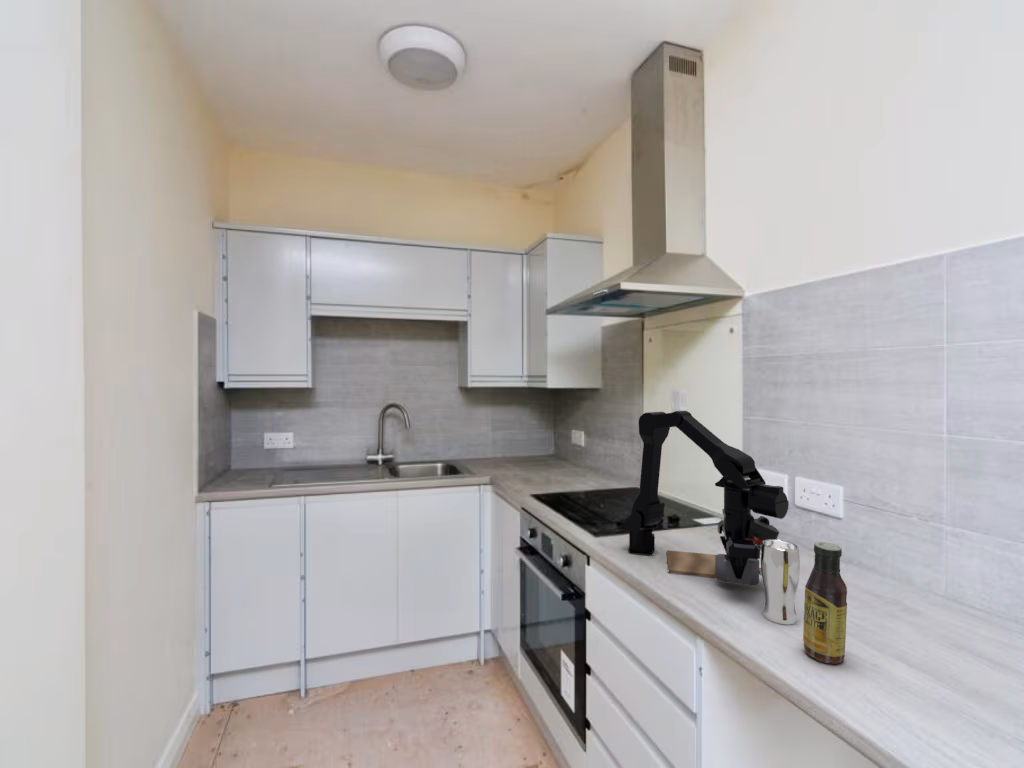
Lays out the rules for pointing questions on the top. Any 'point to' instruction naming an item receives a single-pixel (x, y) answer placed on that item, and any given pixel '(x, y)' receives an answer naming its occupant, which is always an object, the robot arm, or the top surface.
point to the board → (691, 563)
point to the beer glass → (780, 580)
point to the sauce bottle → (825, 606)
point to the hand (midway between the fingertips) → (736, 574)
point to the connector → (727, 574)
